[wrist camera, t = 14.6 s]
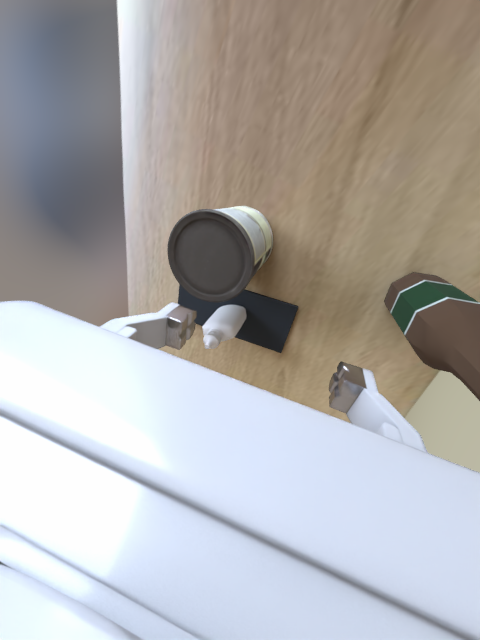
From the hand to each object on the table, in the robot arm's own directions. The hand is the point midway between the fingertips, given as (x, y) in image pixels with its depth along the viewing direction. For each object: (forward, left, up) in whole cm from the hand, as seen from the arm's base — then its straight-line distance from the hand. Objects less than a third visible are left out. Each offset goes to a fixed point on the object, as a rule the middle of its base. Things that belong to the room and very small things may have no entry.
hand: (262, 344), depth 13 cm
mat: (+14, -8, -28) cm, 32 cm away
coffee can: (+1, -9, -28) cm, 30 cm away
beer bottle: (+2, +18, -28) cm, 34 cm away
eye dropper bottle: (+14, -8, -28) cm, 32 cm away
